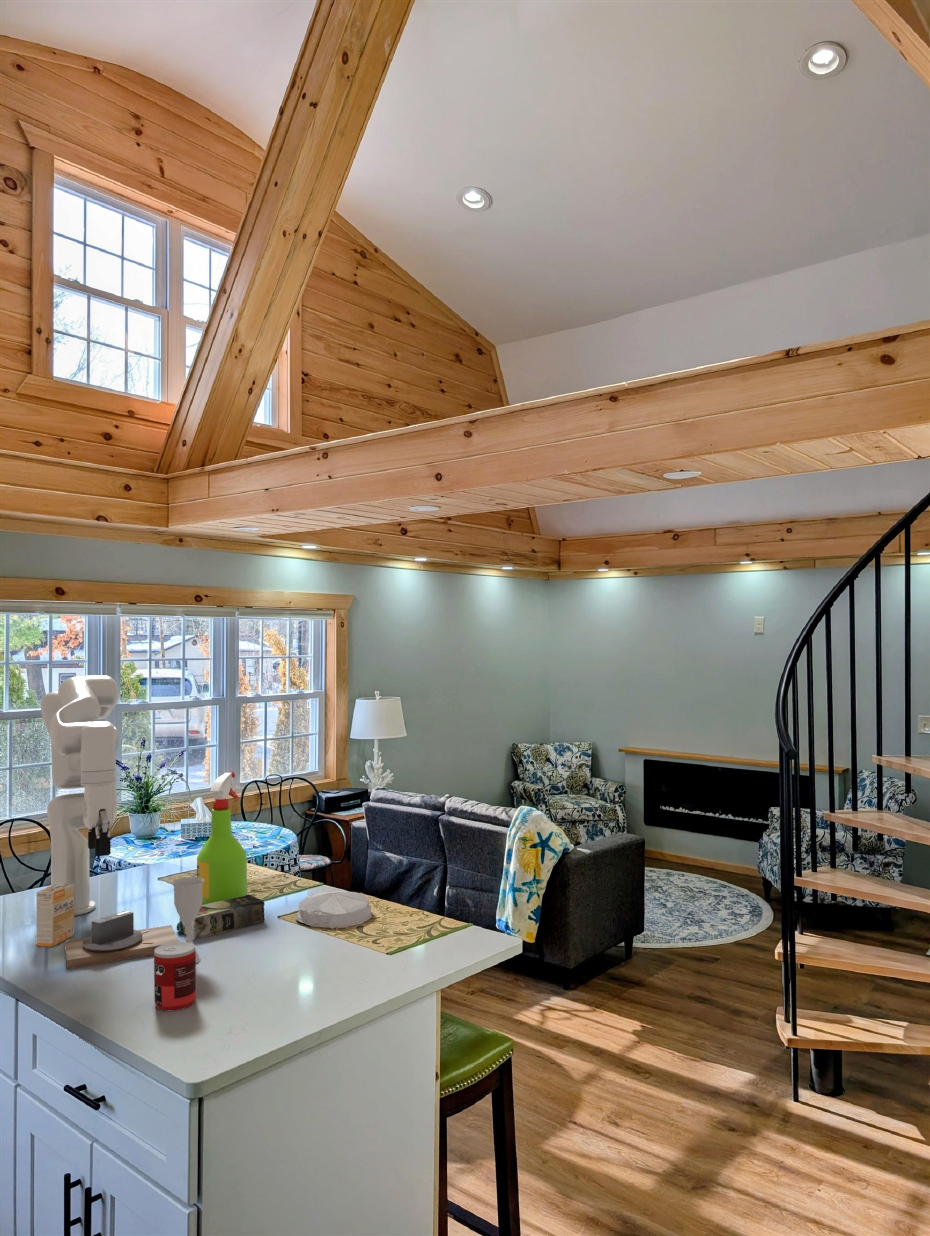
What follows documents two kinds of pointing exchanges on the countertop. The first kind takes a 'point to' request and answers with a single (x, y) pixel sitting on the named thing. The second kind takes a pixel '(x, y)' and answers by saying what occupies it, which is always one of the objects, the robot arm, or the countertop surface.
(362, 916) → the white round cake
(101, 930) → the dial
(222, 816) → the spray bottle
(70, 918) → the supplement box
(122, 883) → the countertop surface
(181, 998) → the canned food
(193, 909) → the chalice
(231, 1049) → the countertop surface
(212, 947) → the countertop surface
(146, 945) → the dial panel
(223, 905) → the juice carton
